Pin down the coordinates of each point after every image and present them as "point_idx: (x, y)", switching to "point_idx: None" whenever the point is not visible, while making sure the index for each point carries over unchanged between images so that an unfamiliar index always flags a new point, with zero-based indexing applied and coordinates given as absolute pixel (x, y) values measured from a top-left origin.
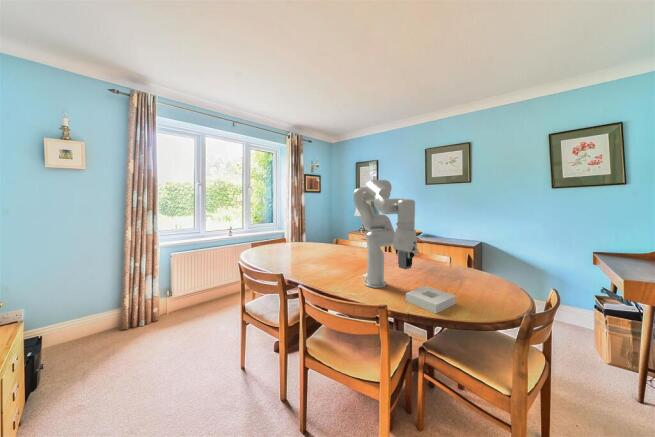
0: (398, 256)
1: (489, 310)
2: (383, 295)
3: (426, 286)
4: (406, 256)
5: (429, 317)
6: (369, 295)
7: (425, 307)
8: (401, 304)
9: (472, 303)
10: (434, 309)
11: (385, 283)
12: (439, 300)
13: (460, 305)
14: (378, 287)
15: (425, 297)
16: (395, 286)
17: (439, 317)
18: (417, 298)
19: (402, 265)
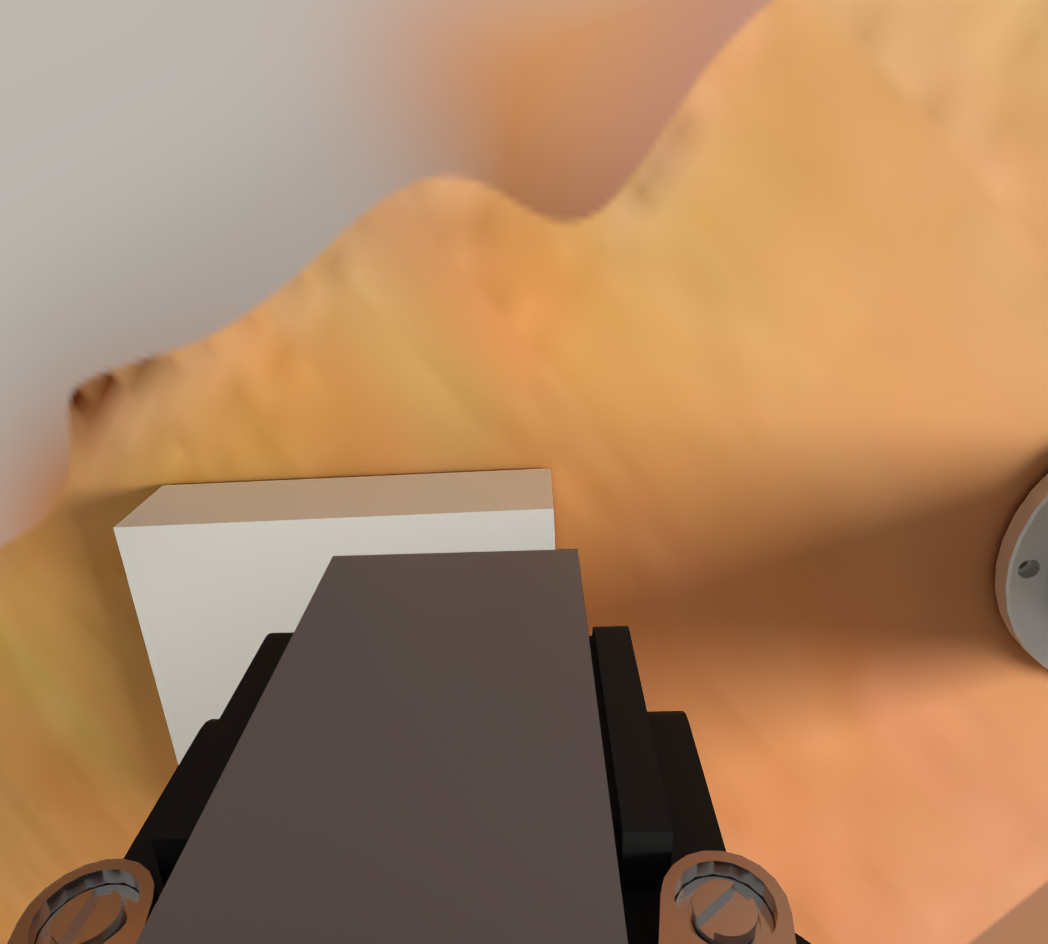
0: (667, 814)
1: (34, 887)
2: (836, 374)
3: None
4: (179, 898)
5: (135, 367)
6: (972, 210)
7: (280, 488)
8: (520, 363)
9: None
10: (162, 499)
11: (1032, 634)
12: (187, 648)
13: None
14: (1035, 490)
15: None
16: (905, 687)
17: (95, 452)
18: (372, 511)
19: (430, 597)
